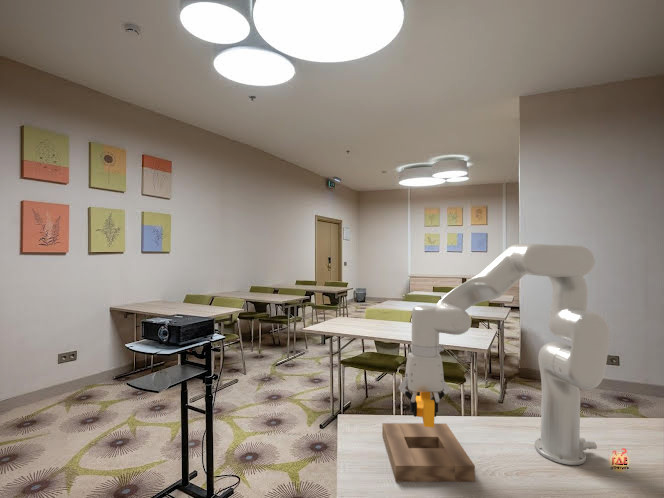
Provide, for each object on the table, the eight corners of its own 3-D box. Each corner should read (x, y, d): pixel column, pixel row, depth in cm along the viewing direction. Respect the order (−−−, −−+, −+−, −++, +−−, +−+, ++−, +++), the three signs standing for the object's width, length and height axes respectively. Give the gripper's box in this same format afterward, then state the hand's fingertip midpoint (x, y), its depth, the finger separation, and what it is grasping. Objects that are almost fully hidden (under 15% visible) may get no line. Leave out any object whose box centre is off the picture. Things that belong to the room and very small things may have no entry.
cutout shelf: (446, 436, 114) (446, 423, 114) (474, 481, 92) (474, 465, 92) (382, 436, 114) (382, 423, 114) (395, 481, 92) (395, 465, 92)
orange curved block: (414, 406, 109) (414, 384, 109) (429, 407, 108) (429, 385, 108) (417, 425, 97) (417, 401, 97) (434, 427, 96) (434, 403, 96)
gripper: (450, 346, 107) (449, 409, 107) (392, 346, 106) (391, 408, 106) (459, 354, 99) (458, 421, 99) (397, 353, 99) (396, 420, 99)
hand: (423, 413), depth 103 cm, fingers closed on orange curved block, 4 cm apart
